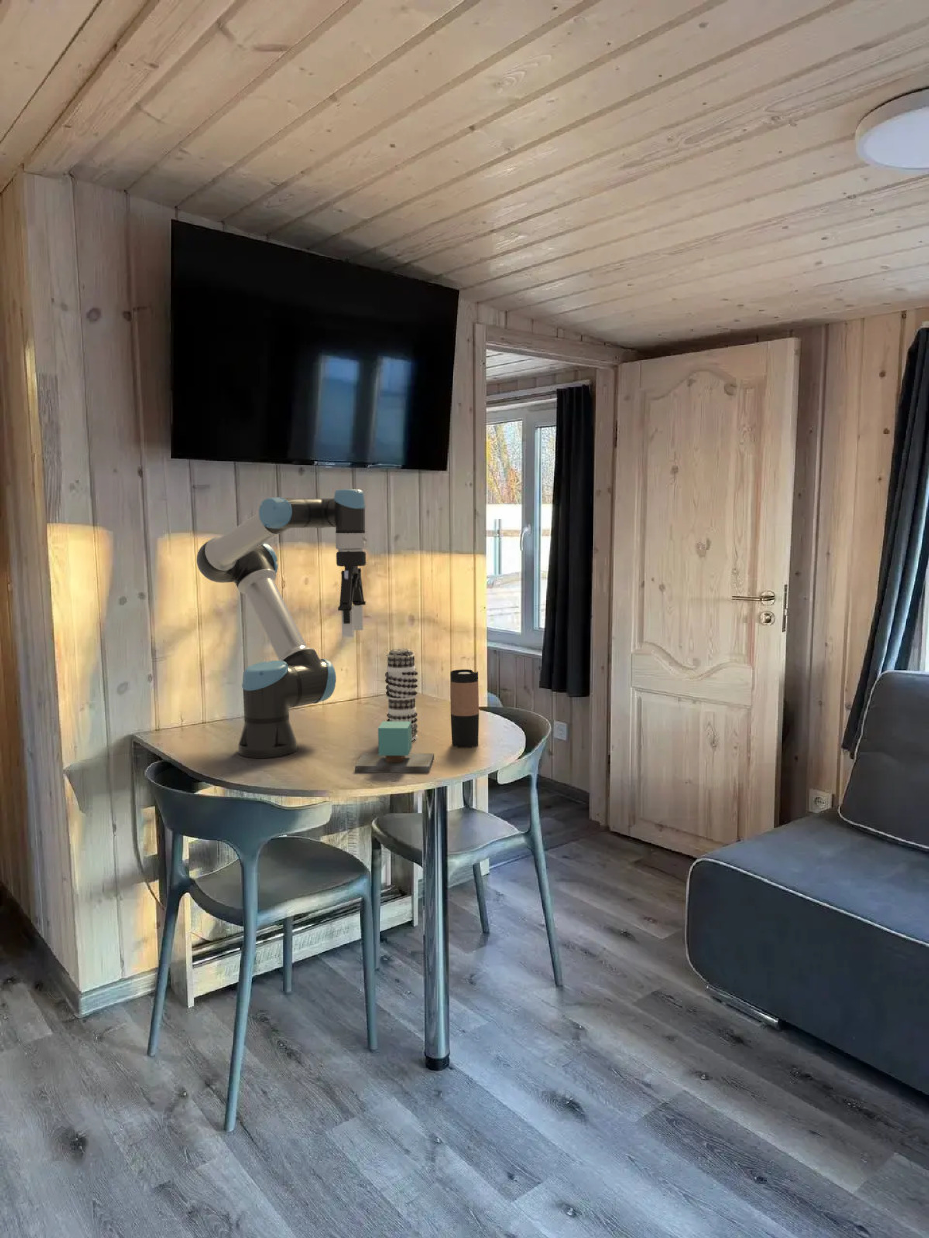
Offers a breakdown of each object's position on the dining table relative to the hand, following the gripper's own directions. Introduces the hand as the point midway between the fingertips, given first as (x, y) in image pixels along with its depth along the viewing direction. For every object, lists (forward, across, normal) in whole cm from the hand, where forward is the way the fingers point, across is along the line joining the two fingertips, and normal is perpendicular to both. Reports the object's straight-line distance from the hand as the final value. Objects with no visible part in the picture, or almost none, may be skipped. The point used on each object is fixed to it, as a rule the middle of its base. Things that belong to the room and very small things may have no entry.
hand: (353, 633), depth 222 cm
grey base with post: (+32, -11, -12) cm, 36 cm away
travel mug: (+32, +10, -28) cm, 44 cm away
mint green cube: (+28, -11, -12) cm, 33 cm away
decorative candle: (+32, +17, -10) cm, 38 cm away
